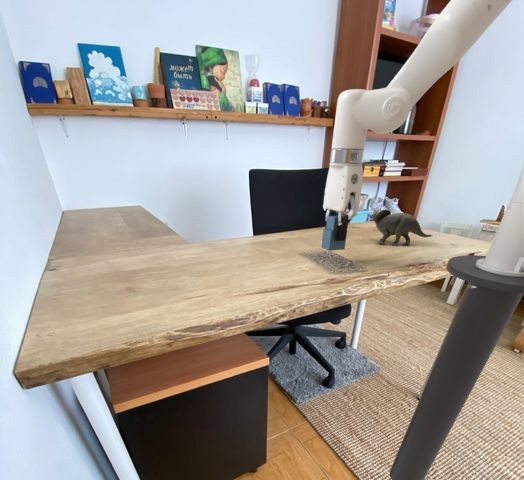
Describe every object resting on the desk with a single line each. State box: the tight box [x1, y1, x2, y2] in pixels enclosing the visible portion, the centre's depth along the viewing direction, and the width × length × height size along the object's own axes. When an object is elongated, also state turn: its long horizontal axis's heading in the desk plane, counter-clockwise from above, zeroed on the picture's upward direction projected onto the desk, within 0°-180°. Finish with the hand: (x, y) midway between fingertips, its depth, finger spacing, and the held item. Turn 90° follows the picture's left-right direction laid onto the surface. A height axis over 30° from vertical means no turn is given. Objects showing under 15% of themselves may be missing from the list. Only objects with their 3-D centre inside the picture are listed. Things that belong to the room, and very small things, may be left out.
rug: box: [302, 249, 368, 273], centre depth 83 cm, size 10×20×1 cm, turn 18°
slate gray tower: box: [321, 214, 348, 252], centre depth 79 cm, size 4×5×8 cm
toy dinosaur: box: [370, 204, 433, 247], centre depth 99 cm, size 22×8×11 cm, turn 51°
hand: (334, 237), depth 80 cm, fingers closed on slate gray tower, 4 cm apart
